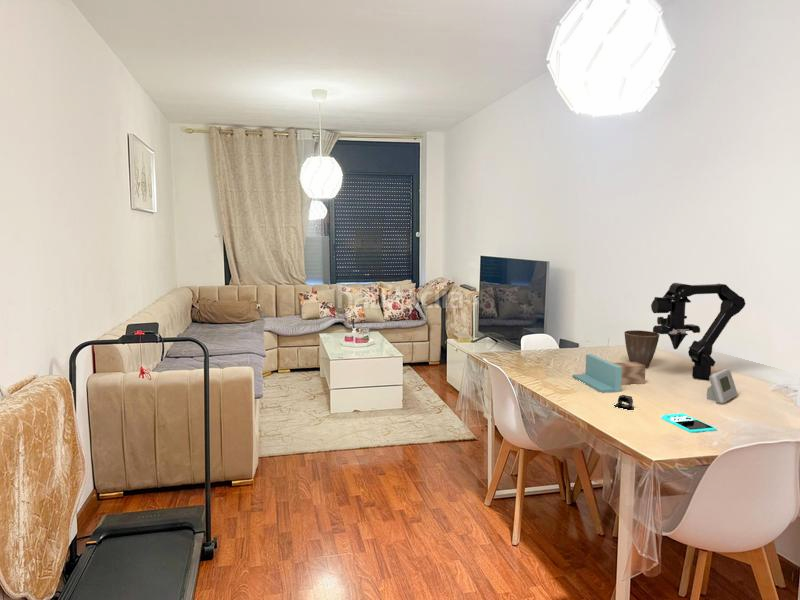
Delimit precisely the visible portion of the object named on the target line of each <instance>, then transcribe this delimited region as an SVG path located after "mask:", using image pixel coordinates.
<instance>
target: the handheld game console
mask: <svg viewBox="0 0 800 600" xmlns="http://www.w3.org/2000/svg"><path fill="white" fill-rule="evenodd" d="M661 419H662V420H663V421H666V422H667V423H670V424H671V425H673V426H676V427H678V428H680V429H681V430H683V431H686V432H688V433H689V434H695V433H704V432H705V433H708V432H716V431H717V429H718V428H716V427H715V426H712V425H711V424H708V423H706V422H704V421H701V420H699V419H697V418H694V417H693V416H690V415H688V414H686V413H684V412H681V413H680V412H679V413H670V414H668V413H667V414H663V415H661Z"/></svg>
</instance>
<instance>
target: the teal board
mask: <svg viewBox="0 0 800 600" xmlns="http://www.w3.org/2000/svg"><path fill="white" fill-rule="evenodd" d="M613 363H614V362H611V361H609V360H606V359H604V358H601V357H599V356H597V355H595V354H592V353H586V354H585V368H584V370H585V373H581V374H580V373H578V374H572V376H571V377H572V378H573V379H574V378H575V380H576V379H577V381H578V380H580V381H581V382H580V381H579V382H580V383H582V382H583V383H582V384H584V383H585V384H584V385H586V384H587V385H588V386H587V385H586V386H587V387H589V386H590V387H589V388H591V387H592V388H591V389H593V388H594V389H593V390H595V391H597V392H598V393H600V392H602V393H601V394H605V393H604V392H609V393H621V392H622V385H621V375H622V367H620V366H618V365H616V364H613Z"/></svg>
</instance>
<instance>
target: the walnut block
mask: <svg viewBox="0 0 800 600" xmlns="http://www.w3.org/2000/svg"><path fill="white" fill-rule="evenodd" d="M612 363H613V364H616V365H618V366H620V367H622V375H621V386H632V385H631V384H636V385H645V384H646V369H647V368H646V366H645V365H643V364H640V363H638V362H630V361H625V362H624V361H623V362H612ZM645 368H646V369H645ZM644 383H645V384H644Z"/></svg>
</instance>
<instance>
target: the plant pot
mask: <svg viewBox="0 0 800 600" xmlns="http://www.w3.org/2000/svg"><path fill="white" fill-rule="evenodd" d="M659 338H660V334H658V333H655V332H653V331H648V330H639V329H638V330H635V329H634V330H626V331H624V341H625V347H626V353H627V358H628V360H629V361H628V362H638V363H640V364H643V365H645V366H646V369H648V368H649V366H650V365H651V363H652V361H653V359H654V355H655V354H656V349H657V346H658V343H659V340H660V339H659Z"/></svg>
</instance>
